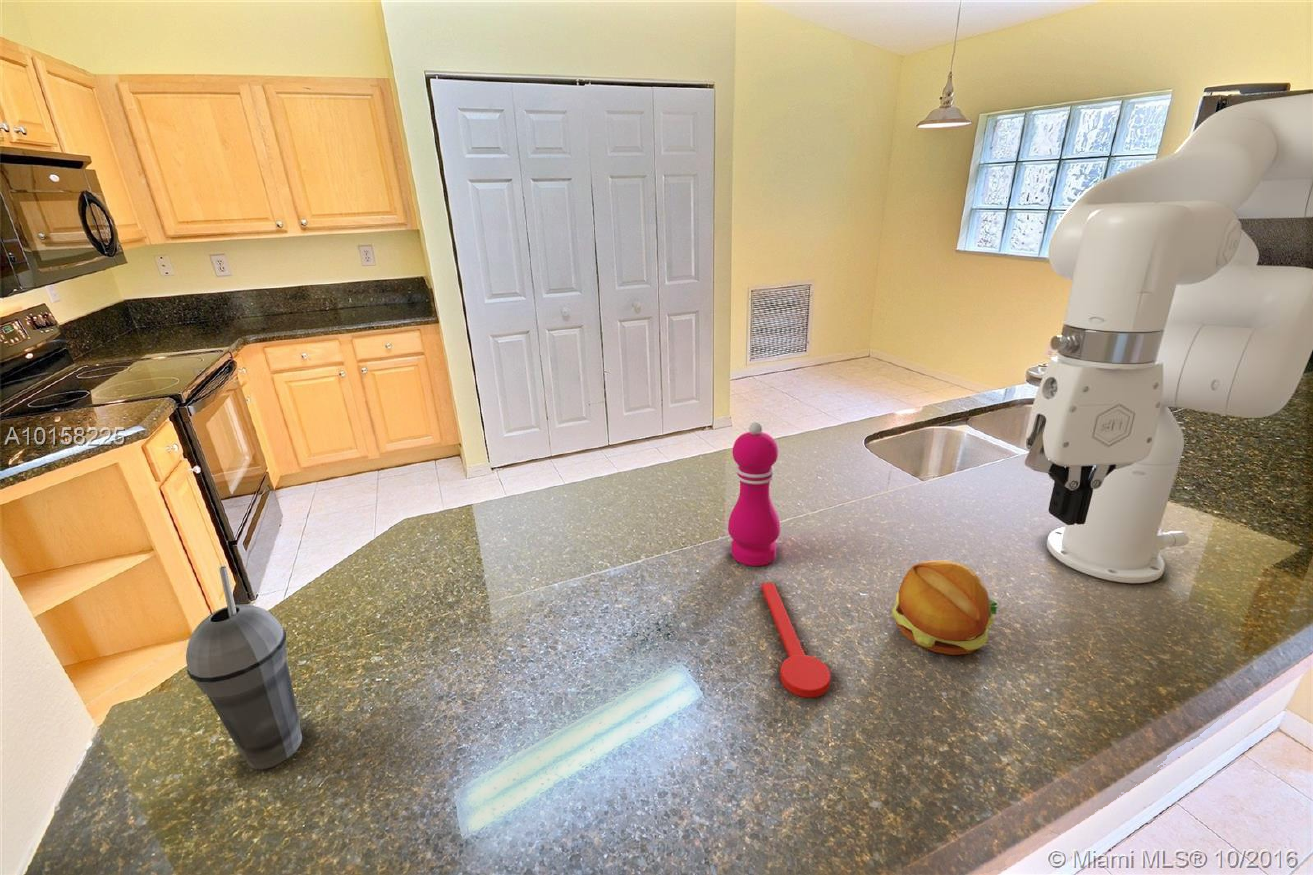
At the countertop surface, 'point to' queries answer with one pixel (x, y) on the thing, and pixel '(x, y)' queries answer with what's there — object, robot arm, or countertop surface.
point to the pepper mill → (754, 499)
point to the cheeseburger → (944, 607)
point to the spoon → (796, 653)
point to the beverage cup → (247, 679)
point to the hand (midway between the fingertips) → (1065, 518)
